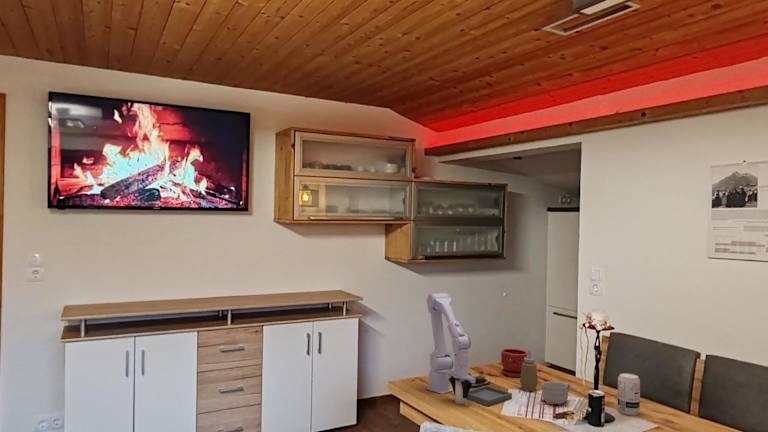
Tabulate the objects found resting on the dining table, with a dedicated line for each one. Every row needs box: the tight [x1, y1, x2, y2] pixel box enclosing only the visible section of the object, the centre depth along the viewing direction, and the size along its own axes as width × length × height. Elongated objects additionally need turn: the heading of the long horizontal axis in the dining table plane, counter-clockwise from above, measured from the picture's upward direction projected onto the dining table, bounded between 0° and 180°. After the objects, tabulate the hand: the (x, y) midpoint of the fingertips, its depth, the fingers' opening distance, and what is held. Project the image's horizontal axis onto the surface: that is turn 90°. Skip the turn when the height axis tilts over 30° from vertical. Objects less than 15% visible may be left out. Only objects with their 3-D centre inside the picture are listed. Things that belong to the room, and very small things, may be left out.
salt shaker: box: [454, 379, 467, 405], centre depth 228 cm, size 5×5×9 cm
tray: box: [466, 385, 513, 407], centre depth 233 cm, size 14×16×2 cm
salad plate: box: [468, 372, 491, 389], centre depth 258 cm, size 19×18×5 cm
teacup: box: [541, 381, 572, 406], centre depth 230 cm, size 14×11×8 cm
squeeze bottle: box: [519, 349, 539, 392], centre depth 247 cm, size 8×8×18 cm
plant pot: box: [500, 348, 528, 378], centre depth 271 cm, size 13×13×12 cm
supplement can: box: [617, 372, 641, 417], centre depth 218 cm, size 8×8×15 cm
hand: (460, 396), depth 228 cm, fingers closed on salt shaker, 5 cm apart
